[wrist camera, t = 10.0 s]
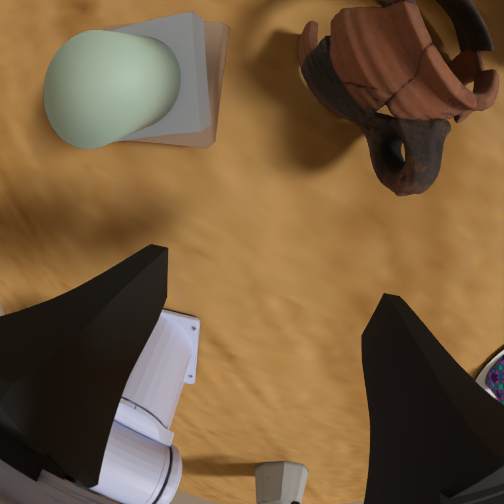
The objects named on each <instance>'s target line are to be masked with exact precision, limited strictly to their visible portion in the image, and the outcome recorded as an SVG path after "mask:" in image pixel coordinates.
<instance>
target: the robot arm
mask: <svg viewBox="0 0 504 504" xmlns="http://www.w3.org/2000/svg"><path fill="white" fill-rule="evenodd" d="M167 274H168V248H167V247H162V246H157V245H153V244H150V245H148V246H146V247H145V248H143V249H141V250H140V251H138V252H137V253H135V254H133V255H132V256H130V257H128V258H127V259H125V260H124V261H122V262H120V263H119V264H117V265H115V266H114V267H112V268H110V269H109V270H107V271H106V272H104V273H102V274H100V275H98V276H97V277H95V278H93V279H91V280H89V281H88V282H86V283H84V284H82V285H80V286H78V287H76V288H75V289H72V290H70V291H68V292H66V293H64V294H62V295H60V296H57V297H55V298H53V299H50V300H48V301H45V302H43V303H40V304H37V305H35V306H32V307H29V308H26V309H24V310H21V311H18V312H14V313H11V314H8V315H4V316H0V504H169V503H170V501H171V500H172V498H173V497H174V495H175V493H176V491H177V488H178V486H179V483H180V479H181V475H182V459H181V457H180V453H179V450H178V448H177V447H176V446H174V445H172V444H171V443H172V440H173V436H174V433H173V432H171V431H170V430H169V428H170V426H171V423H172V419H173V416H174V413H175V410H176V407H177V404H178V400H179V397H180V394H181V391H182V388H183V385H184V383H188V384H194V383H195V378H196V365H197V353H198V341H199V330H200V321H199V319H197V318H196V317H192V316H188V315H184V314H180V313H176V312H172V311H168V310H164V309H163V306H164V304H165V301H166V298H167ZM192 326H194V327H192ZM361 339H362V365H363V372H364V379H365V386H366V393H367V401H368V408H369V416H370V456H369V470H368V479H367V486H366V493H365V499H364V504H504V405H503V404H501V403H500V402H499V401H498V400H496V399H495V398H494V397H493V396H492V395H490V394H489V393H488V392H487V391H486V390H485V389H483V388H482V387H481V386H480V385H479V384H478V383H477V382H476V381H475V380H474V379H473V378H472V377H471V376H470V375H469V374H468V373H467V372H466V371H465V370H464V369H463V368H462V367H461V366H460V365H459V364H458V363H457V362H456V361H455V360H454V359H453V357H452V356H451V355H450V354H449V353H448V352H447V351H446V350H445V348H444V347H443V346H442V345H441V344H440V343H439V341H438V340H437V339H436V338H435V337H434V335H433V334H432V333H431V332H430V331H429V329H428V328H427V327H426V326H425V324H424V323H423V322H422V321H421V320H420V318H419V317H418V316H417V315H416V314H415V312H414V311H413V310H412V309H411V308H410V307H409V306H408V304H407V303H406V302H405V301H404V300H403V299H402V298H401V297H400V296H396V295H391V294H386V293H384V294H383V296H382V298H381V300H380V302H379V304H378V306H377V308H376V310H375V312H374V313H373V315H372V317H371V319H370V321H369V323H368V325H367V326H366V328H365V330H364V332H363V334H362V335H361Z"/></svg>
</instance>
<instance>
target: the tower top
mask: <svg viewBox="0 0 504 504" xmlns="http://www.w3.org/2000/svg"><path fill="white" fill-rule="evenodd" d="M112 32H120V33H128V34H135V35H142V36H148V37H153V38H156V39H158V40H160V41H162V42H163V43H165V44H166V45H167V46H168V47H169V48H170V49H171V50H172V52H173V53H174V55H175V56H176V58H177V61H178V63H179V67H180V72H181V85H180V91H179V94H178V97H177V99H176V102H175V104H174V105H173V107H172V109H171V110H170V111H169V113H168V114H167V115H166V116H165V117H164V118H163V119H161V120H160V121H159V122H157V123H155V124H154V125H151V126H149V127H147V128H144V129H142V130H139V131H137V132H134V133H132V134H130V135H127V136H125V137H122V138H120V139H118V140H116V141H113V142H117V141H124V140H131V139H138V138H145V137H153V136H162V135H171V134H181V133H192V132H201V131H203V130H205V129H206V128H208V127H209V126H211V118H210V106H209V94H208V82H207V68H206V55H205V40H204V25H203V18H201V17H200V16H198V15H197V14H195V13H193V12H187V13H182V14H176V15H171V16H167V17H162V18H157V19H153V20H149V21H145V22H141V23H137V24H133V25H130V26H126V27H122V28H119V29H116V30H112Z"/></svg>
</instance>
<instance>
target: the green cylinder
mask: <svg viewBox="0 0 504 504" xmlns="http://www.w3.org/2000/svg"><path fill="white" fill-rule="evenodd" d="M180 85H181V72H180V67H179V63H178V61H177V58H176V56H175V55H174V53H173V52H172V50H171V49H170V48H169V47H168V46H167V45H166V44H165V43H163V42H162V41H160V40H158V39H156V38H153V37H148V36H142V35H135V34H128V33H120V32H112V31H102V30H90V31H86V32H82V33H80V34H77V35H76V36H74V37H72V38H71V39H69V40H68V41H67V42H66V43H65V44H63V45H62V46H61V48H60V49H59V50H58V51H57V52H56V54H55V56H54V57H53V59H52V61H51V63H50V65H49V67H48V70H47V73H46V76H45V81H44V89H43V100H44V107H45V111H46V115H47V118H48V120H49V122H50V124H51V126H52V128H53V129H54V131H55V132H56V133H57V135H58V136H59V137H60V138H61V139H62V140H64V141H65V142H66V143H68V144H70V145H72V146H74V147H77V148H81V149H95V148H99V147H102V146H104V145H107V144H109V143H111V142H113V141H116V140H118V139H120V138H122V137H125V136H127V135H130V134H132V133H134V132H137V131H139V130H142V129H144V128H147V127H149V126H151V125H154V124H155V123H157V122H159V121H160V120H161V119H163V118H164V117H165V116H166V115H167V114H168V113H169V111H170V110H171V109H172V107H173V105H174V104H175V102H176V99H177V97H178V94H179V91H180Z"/></svg>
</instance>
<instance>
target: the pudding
mask: <svg viewBox="0 0 504 504" xmlns="http://www.w3.org/2000/svg"><path fill="white" fill-rule="evenodd" d="M500 357H501V358H500ZM499 358H500V359H499ZM498 359H499V361H498V363H497V364H496V365H495V366H494V367H492V366H493V365H494V363H495V362H496V361H497V360H498ZM491 367H492V368H491ZM490 368H491V369H490ZM489 370H490V371H489ZM488 371H489V372H488ZM487 373H488V375H487ZM486 375H487V376H488V377H489V378H488V380H487V381H486V385H487V386H488V387H487V386H486V385H485V377H486ZM476 382H477V383H478V384H479V385H480V386H481V387H482V388H483V389H485V390H486V391H487V392H488V393H489V394H490V395H492V396H493V397H494V398H497V399H498V400H499V402H500V403H501V404H503V405H504V350H503V351H501V352H500V353H499V354H498V355H497V356H496V357H495V358H493V359H492V360H491V361H490V362H489V363H488V364H487V365H486V367H485V368H484V369H483V370H482V371H481V373H480V374H479V376H478V377H477V379H476Z"/></svg>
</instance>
